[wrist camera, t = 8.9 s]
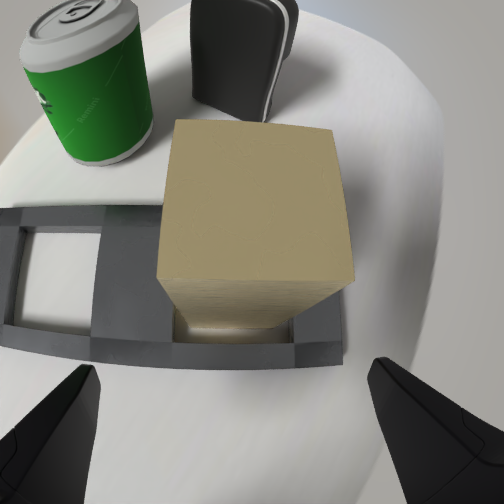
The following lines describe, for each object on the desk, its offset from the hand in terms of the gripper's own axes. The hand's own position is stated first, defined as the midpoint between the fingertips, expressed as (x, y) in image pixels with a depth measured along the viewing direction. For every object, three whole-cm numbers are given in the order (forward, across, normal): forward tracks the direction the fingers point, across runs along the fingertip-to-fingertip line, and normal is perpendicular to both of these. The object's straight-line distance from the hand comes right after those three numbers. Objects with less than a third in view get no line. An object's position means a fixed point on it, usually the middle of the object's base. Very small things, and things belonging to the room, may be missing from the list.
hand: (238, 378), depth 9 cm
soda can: (+19, +9, -5) cm, 22 cm away
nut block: (+10, -1, +3) cm, 11 cm away
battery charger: (+22, -1, -8) cm, 23 cm away
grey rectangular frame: (+10, +5, +3) cm, 12 cm away
